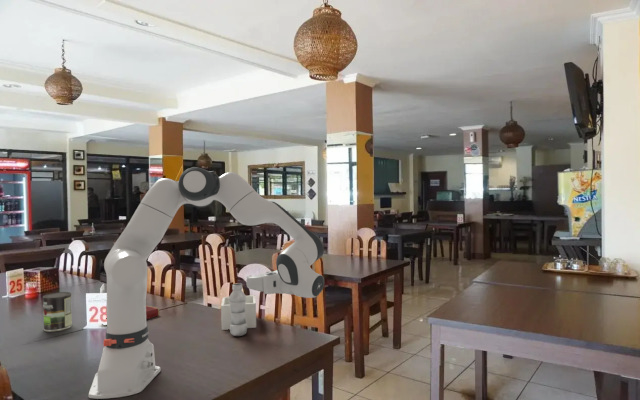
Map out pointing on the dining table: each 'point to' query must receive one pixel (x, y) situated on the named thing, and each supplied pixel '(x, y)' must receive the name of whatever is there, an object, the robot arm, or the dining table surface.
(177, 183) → the robot arm
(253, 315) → the bin
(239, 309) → the plastic bottle
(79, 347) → the dining table surface
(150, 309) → the hardcover book
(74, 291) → the dining table surface
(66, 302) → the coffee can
